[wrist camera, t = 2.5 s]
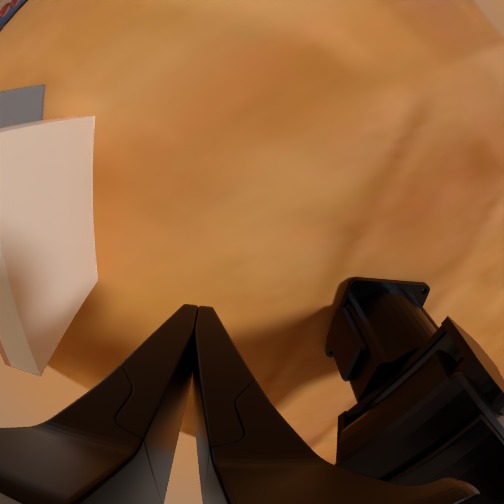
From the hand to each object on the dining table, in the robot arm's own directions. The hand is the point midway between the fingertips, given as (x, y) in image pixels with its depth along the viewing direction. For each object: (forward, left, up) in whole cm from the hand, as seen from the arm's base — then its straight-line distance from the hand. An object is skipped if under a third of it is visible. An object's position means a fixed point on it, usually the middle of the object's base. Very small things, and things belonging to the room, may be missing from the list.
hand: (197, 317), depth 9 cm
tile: (+8, 0, -9) cm, 12 cm away
